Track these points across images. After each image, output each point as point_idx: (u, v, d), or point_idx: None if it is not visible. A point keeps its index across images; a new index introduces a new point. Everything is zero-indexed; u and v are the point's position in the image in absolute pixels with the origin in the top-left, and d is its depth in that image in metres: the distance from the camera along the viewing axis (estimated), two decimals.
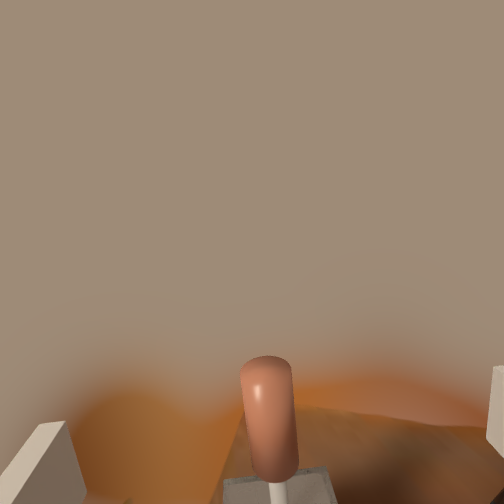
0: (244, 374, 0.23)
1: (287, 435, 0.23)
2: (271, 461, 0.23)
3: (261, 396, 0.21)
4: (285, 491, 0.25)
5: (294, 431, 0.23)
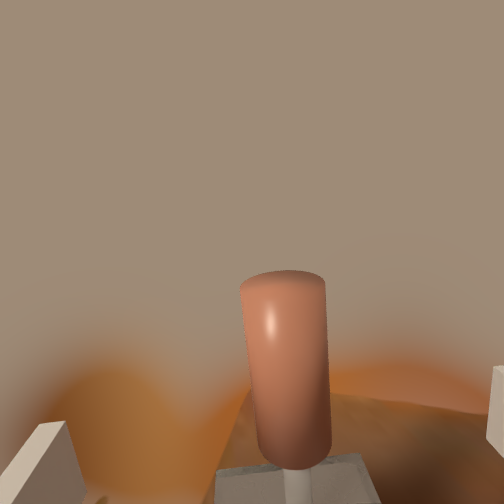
0: (247, 289, 0.14)
1: (317, 389, 0.14)
2: (290, 433, 0.14)
3: (275, 317, 0.12)
4: (309, 485, 0.16)
5: (327, 386, 0.14)
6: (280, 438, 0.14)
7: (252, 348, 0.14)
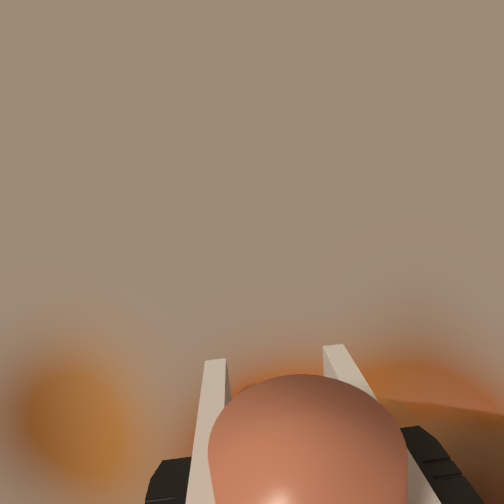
0: (224, 449, 0.06)
1: None
2: None
3: None
4: None
5: None
6: None
7: None
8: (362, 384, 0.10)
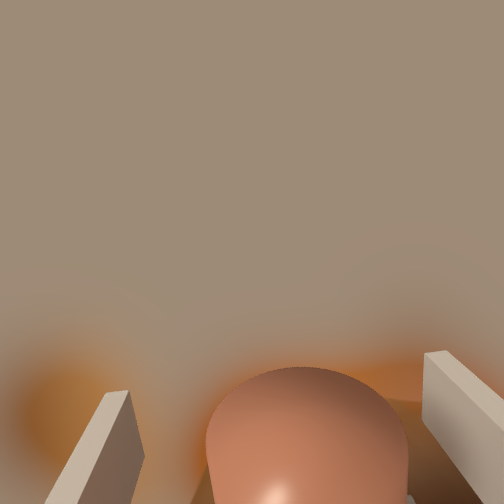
0: (222, 440, 0.06)
1: None
2: None
3: None
4: None
5: None
6: None
7: None
8: (494, 397, 0.09)
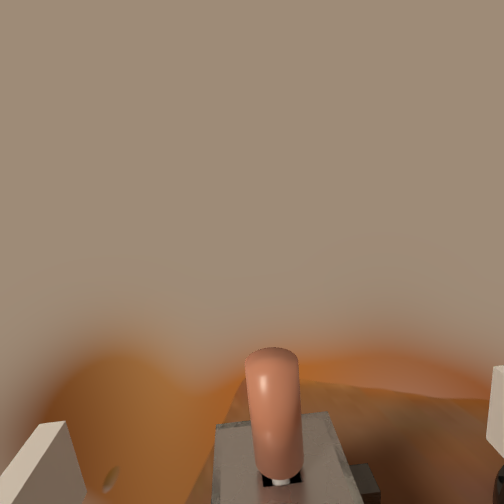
0: (249, 365, 0.22)
1: (293, 429, 0.22)
2: (276, 456, 0.22)
3: (266, 387, 0.21)
4: None
5: (300, 425, 0.23)
6: (269, 459, 0.22)
7: (252, 403, 0.22)
8: None
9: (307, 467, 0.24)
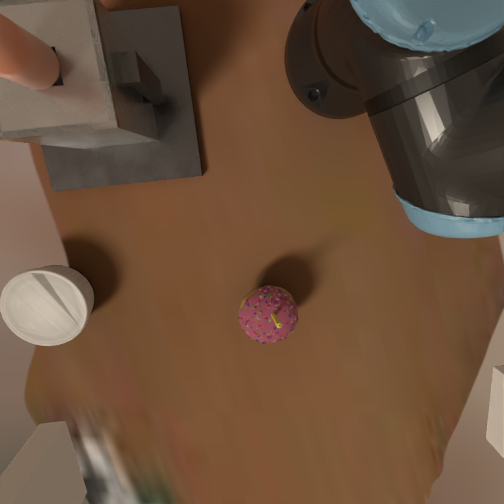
0: None
1: (23, 71, 0.22)
2: (21, 83, 0.24)
3: None
4: (60, 78, 0.28)
5: (33, 62, 0.22)
6: None
7: None
8: None
9: (67, 69, 0.26)
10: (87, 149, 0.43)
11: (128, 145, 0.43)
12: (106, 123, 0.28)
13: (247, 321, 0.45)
